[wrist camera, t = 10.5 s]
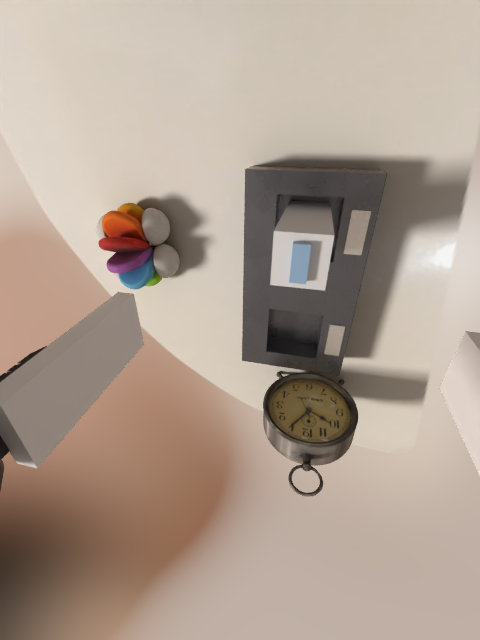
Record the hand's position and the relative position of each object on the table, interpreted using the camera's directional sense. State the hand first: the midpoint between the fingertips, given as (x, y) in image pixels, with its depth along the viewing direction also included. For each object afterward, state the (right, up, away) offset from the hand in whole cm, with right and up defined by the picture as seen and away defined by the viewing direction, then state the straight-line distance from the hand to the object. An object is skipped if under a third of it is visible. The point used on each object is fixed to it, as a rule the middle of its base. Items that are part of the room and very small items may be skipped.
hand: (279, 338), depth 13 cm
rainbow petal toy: (-13, +11, +25) cm, 30 cm away
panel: (+5, +6, +22) cm, 24 cm away
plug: (+5, +11, +19) cm, 22 cm away
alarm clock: (+8, -8, +30) cm, 32 cm away
